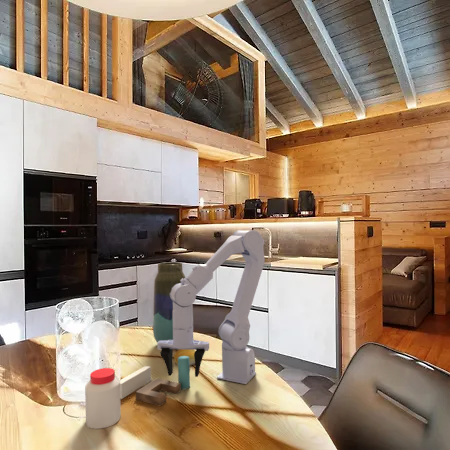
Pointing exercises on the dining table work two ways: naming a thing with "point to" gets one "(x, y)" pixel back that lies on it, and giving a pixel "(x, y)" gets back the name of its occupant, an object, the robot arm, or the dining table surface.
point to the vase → (165, 299)
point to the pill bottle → (102, 399)
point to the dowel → (184, 372)
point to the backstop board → (134, 381)
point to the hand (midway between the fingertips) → (183, 374)
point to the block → (157, 391)
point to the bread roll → (185, 353)
